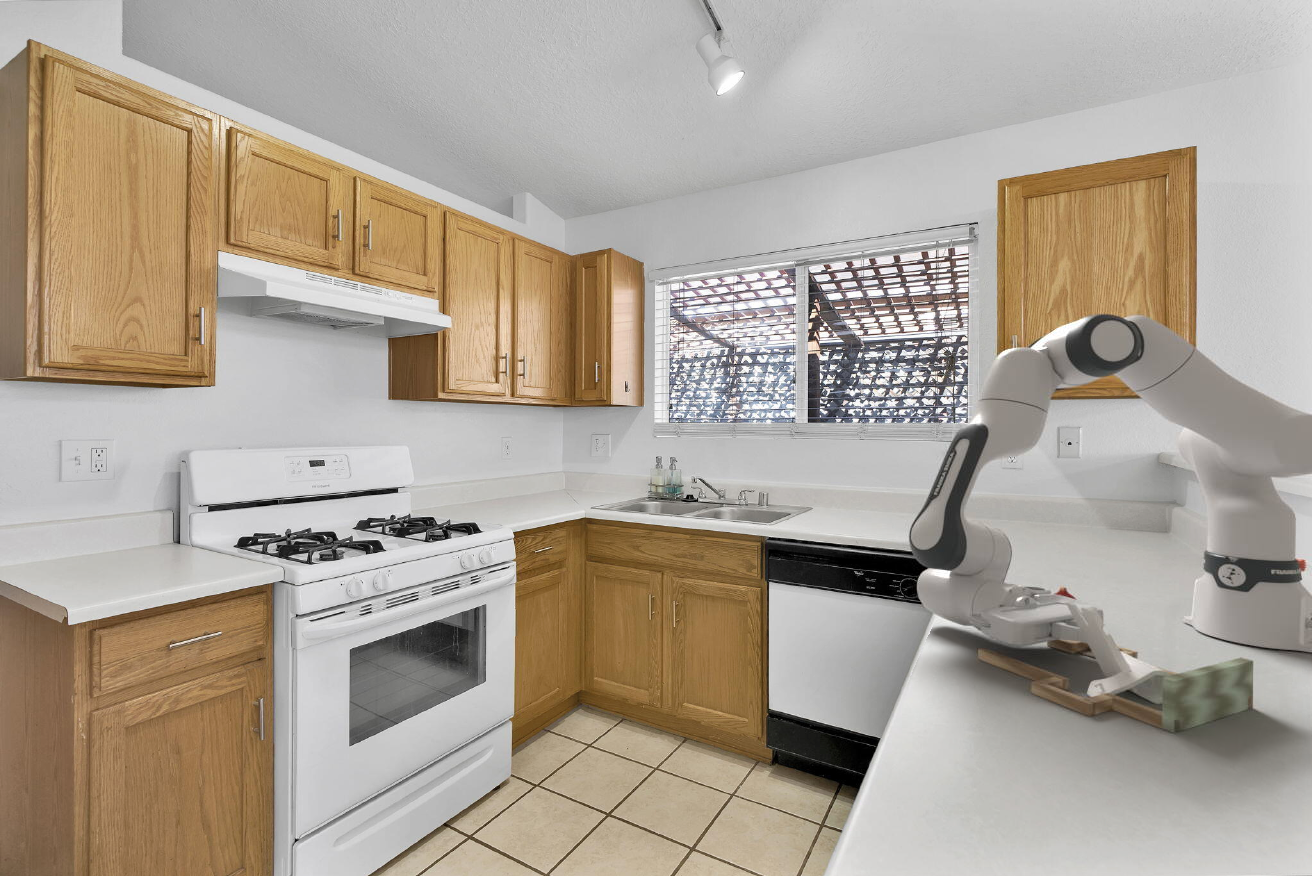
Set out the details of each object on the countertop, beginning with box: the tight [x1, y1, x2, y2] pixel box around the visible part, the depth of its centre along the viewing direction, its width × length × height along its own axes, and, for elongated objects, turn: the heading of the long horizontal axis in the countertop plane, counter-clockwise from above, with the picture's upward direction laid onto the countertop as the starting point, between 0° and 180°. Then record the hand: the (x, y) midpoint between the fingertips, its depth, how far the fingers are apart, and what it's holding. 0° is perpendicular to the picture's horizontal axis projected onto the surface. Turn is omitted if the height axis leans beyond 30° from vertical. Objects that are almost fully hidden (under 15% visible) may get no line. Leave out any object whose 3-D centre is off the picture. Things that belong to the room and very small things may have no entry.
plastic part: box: [1065, 598, 1171, 705], centre depth 83 cm, size 8×10×12 cm
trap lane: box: [977, 639, 1254, 734], centre depth 87 cm, size 27×26×6 cm
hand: (1097, 637), depth 87 cm, fingers closed
